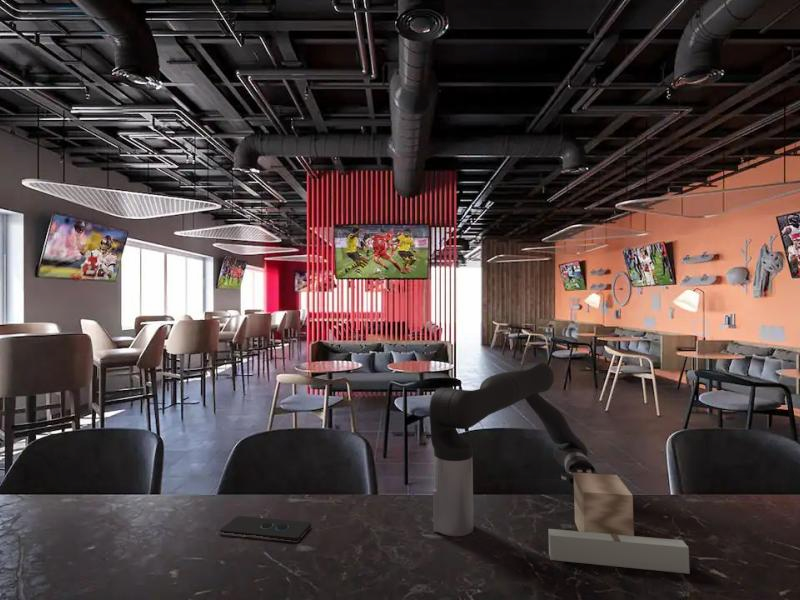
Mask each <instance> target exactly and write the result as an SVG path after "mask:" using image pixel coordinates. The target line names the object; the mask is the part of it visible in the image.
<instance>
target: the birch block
mask: <svg viewBox="0 0 800 600" xmlns="http://www.w3.org/2000/svg"><path fill="white" fill-rule="evenodd" d="M573 496H574V497H573V498H574V500H573V501H574V504H573V505H574V522H575V525H576V528H577V531H580V532H592V533H604V534H610V533H613V534H617V535H627V536H635V527H634V501H633V500H634V497H633V494H632V493H631V491H630V490H629V489H628V487H627V486H626V485H625V483H624V482H623V481H622V480H621V478H620V477H619V476H618V475H617V474H606V473H605V474H603V473H599V474H591V473H574V486H573Z"/></svg>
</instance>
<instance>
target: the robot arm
mask: <svg viewBox="0 0 800 600" xmlns="http://www.w3.org/2000/svg"><path fill="white" fill-rule="evenodd" d="M554 380H555V376H554V372H553V369H552V367H551V366H550V365H549V364H547V363H546V362H542V361H536V362H535V361H534V362H528V363H525V362H524V363H521V364H518V365H516V366H515V367H514V369H513V370H512V371H506V372H500V373H497V374H496V373H495V374H494V375H491V376H489V377H487V378H485V379H483V381H482V382H481V384H480V386H479V388H478V389H471V390H470V389H469V390H467V389H466V390H465V389H458V388H450V387H439V388H437V389H436V390H435V391H434V392H433V393H432V396H431V398H430V402H429V426H430V427H429V428H430V440H431V441H430V442H431V444H432V448H433V456H434V457H433V458H434V459H433V461H434V462H433V463H434V464H433V465H434V467H433V468H434V469H433V470H434V473H433V474H434V478H433V479H434V488H433V490H432V496H433V497H432V499H433V500H432V505H433V506H432V507H433V508H432V510H433V517H432V519H433V521H432V522H433V532H436V533H440V534H442V535H444V536H448V537H449V536H450V537H464V536H468V535H470V534H471V533H472V532H473V531H474V520H475V519H474V482H473V478H474V474H473V472H474V471H473V468H474V467H473V446H472V444H471V442H470V441H468V440H467V439H466V438H464V437H463V436H462V435H461V434H460V433H459V432H458V430H468V429H470V428H473V427H474V426H475V425H477V424H478V423H479V422H481V421H483V420H484V419H485V418H487V417H488V416H490V415H492V414H495V413H496V412H499V411H501V410H503V409H506V408H508V407H510V406H512V405H515V404H516V403H518V402H520V401H523V400H525V402H526V403H527V404H528V405H529V407H530V408H531V409H532V410H533V411H534V413H535V414H536V416H537V417H538V418H539V420H540V421H541V423H542V425H543V426H544V428H545V430H546V432H547V434H548V436H549V437H550V439H551V441H552V442H553V443H554V444H557V445H556V446H555V447H554V449H553V457H554V459H555V460H556V462H557V463H558V464H559V465H560V466H561V467H563V468H564V470H565V471H561V472H560V476H561V480H560V481H561V483H565V484H567V485H569V486H571V487H574V473H591V474H600V473H599V472H597V471H596V468H595V467H594V466H593V465H594V464H592V462H591V461H590V459H589V458H588V449H587V446H586V445H585V443H584V442H583V441H582V440H581V439H580V438H579V437H578V436H577V435H576V434H575V433H574V432H573V430H572V429H571V427H570V425H569V424H568V421H567V419H566V418H565V416H564V414H563V413H562V412H561V411H560V410H559V409H558V408H557V407H555V406H554V405H553V404H552V403H550V402H549V401H548V400H546V399H545V398H544V397H543V396H542V395H540V393H544V392H545V393H546V392H548V391H549V390H550V389H551V388H552V386H553V384H554Z"/></svg>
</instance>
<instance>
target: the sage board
mask: <svg viewBox="0 0 800 600" xmlns="http://www.w3.org/2000/svg"><path fill="white" fill-rule="evenodd" d="M547 531H548V533H547V534H548V554H549V559H550V560H551V561H557V562H568V563H578V564H579V563H580V564H589V565H590V564H591V565H598V566H608V567H619V568H626V569H627V568H628V569H629V568H630V569H639V570H649V571H657V572H659V571H660V572H669V573H680V574H691V573H690V572H691V571H690V569H691V568H690V549H689V548H690V547H689V546H688V545H687V544H686V542H685V541H684V540H683V539H672V538H661V537H659V538H658V537H649V536H648V537H647V536H637V535H636V536H635V535H634V536H627V535H617V534H613V533H610V534H604V533H592V532H580V531H578V530H566V529H555V528H554V529H553V528H548V530H547Z"/></svg>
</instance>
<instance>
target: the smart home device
mask: <svg viewBox="0 0 800 600" xmlns="http://www.w3.org/2000/svg"><path fill="white" fill-rule="evenodd" d="M310 527H311V528H312V523H311V522H309V521H300V520H299V521H298V520H286V519H276V518H265V517H254V516H245V515H244V516H243V515H239V516H238V515H237V516H236V517H235V518H233V519H232V520H231V521H229V522H228V523H226V524H225V525H224V526H222V527H221V528H220V529H219V532H220V531H221V532H224V533H234V534H242V535H244V534H245V535H256V536H263V537H269V538H277V539H284V540H291V541H298V540H299V539H300V538H301V536H302V535H303V534H304V533H305V532H306V531H307V530H308V529H309V528H310Z"/></svg>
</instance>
